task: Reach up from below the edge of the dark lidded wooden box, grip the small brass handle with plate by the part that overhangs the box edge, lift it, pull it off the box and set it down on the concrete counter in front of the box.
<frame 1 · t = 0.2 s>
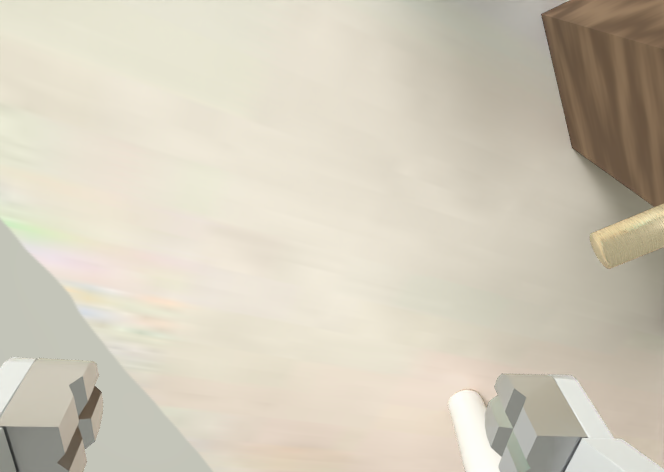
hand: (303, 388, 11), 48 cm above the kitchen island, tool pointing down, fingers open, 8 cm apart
lidded wooden box: (629, 52, 56), on the kitchen island
drinking glass: (463, 399, 81), on the kitchen island
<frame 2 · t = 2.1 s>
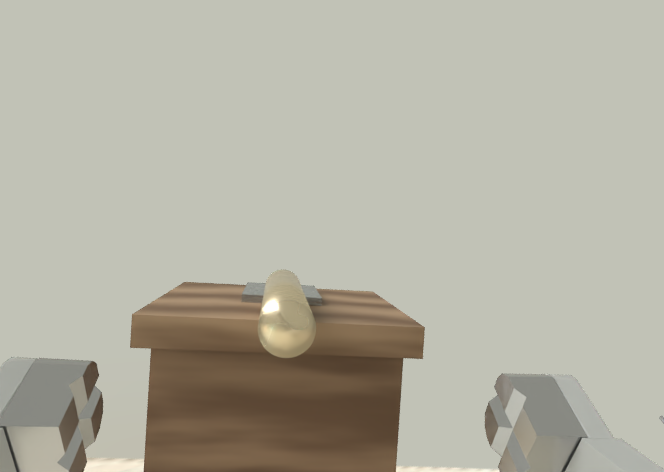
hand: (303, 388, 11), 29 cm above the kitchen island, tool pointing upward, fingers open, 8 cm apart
brass handle with plate: (281, 304, 39), point 26 cm above the kitchen island, touching lidded wooden box
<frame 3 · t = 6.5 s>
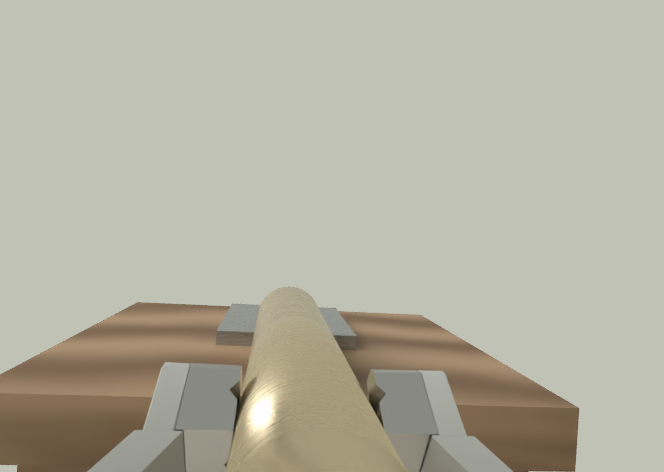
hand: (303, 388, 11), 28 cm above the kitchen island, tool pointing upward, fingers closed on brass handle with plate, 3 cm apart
brass handle with plate: (286, 347, 22), point 26 cm above the kitchen island, touching gripper, lidded wooden box
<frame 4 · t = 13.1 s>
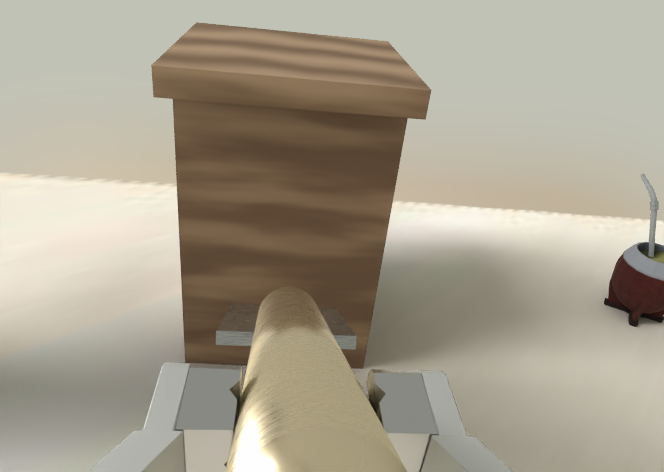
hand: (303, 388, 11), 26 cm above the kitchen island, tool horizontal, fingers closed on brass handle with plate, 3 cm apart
lidded wooden box: (277, 310, 54), on the kitchen island
brass handle with plate: (286, 347, 22), point 19 cm above the kitchen island, tilted 29°, touching gripper
mate gourd: (627, 310, 61), on the kitchen island
when the fingers open (14 cm above the kitchen island, at t = 16.3 s): brass handle with plate drops 7 cm, on the kitchen island.
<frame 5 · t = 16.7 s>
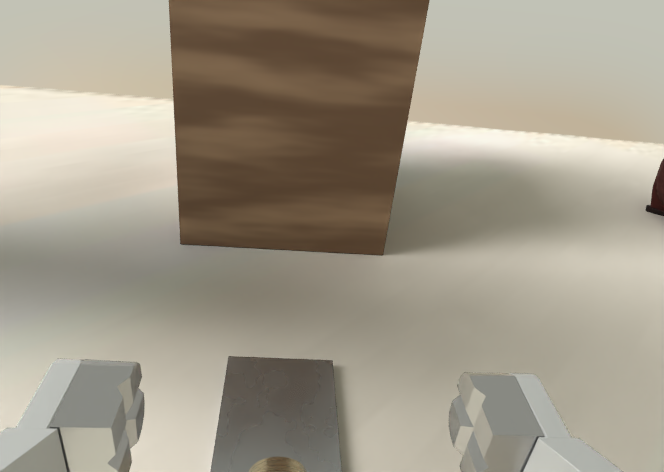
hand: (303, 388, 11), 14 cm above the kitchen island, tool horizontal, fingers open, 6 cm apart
lidded wooden box: (285, 203, 48), on the kitchen island
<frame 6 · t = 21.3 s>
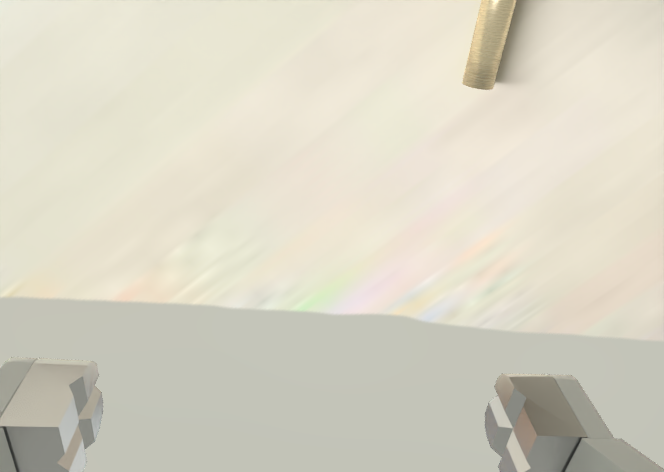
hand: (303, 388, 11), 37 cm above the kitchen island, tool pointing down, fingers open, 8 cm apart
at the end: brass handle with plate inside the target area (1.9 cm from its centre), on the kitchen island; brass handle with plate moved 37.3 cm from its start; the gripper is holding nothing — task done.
